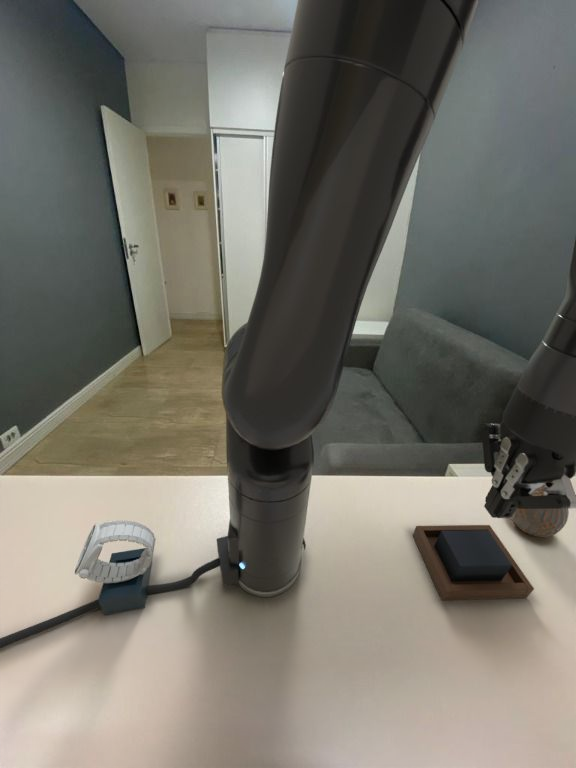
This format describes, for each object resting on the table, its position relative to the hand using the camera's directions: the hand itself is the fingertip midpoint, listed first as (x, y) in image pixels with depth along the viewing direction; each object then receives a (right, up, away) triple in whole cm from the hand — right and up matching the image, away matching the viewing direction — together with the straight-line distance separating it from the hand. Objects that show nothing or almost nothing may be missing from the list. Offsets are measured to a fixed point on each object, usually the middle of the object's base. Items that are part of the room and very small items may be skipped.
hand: (495, 512), depth 38 cm
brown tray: (-1, -9, +5) cm, 11 cm away
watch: (-45, -9, 0) cm, 46 cm away
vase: (+13, -7, +12) cm, 19 cm away
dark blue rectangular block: (-1, -9, +5) cm, 10 cm away
